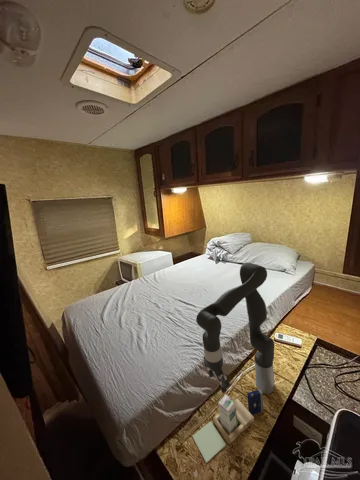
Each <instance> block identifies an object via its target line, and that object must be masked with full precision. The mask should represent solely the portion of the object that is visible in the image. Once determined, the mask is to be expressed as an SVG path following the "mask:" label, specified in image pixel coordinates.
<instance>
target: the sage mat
mask: <svg viewBox="0 0 360 480" xmlns="http://www.w3.org/2000/svg"><path fill="white" fill-rule="evenodd" d="M222 437H223V436H221V433H219V430H217V428H216V427H215V424H213V421H209V422H208V423H207V424H205V425H204V426H203V427H202V428H200V429H199V430H198V431H197V432H195V433H194V434H193V435H192V439H193V441H194V442H195V444H196V446H197V448H198V451H199V452H200V453H201V455H202V458H203V460H204V462H205V463H206V464H207V463H209V462H210V461H211V459H213V458H214V457H215V456H216V455H217V454H218V453H219V452H220V451H221V450H222V449H224V448H225V447H226V446H227V444H226V441H225V439H223V438H222Z"/></svg>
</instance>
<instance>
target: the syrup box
mask: <svg viewBox="0 0 360 480" xmlns="http://www.w3.org/2000/svg"><path fill="white" fill-rule="evenodd" d="M234 400H235V399H233V398H231V397H230V396H229V395H227V394H226V393H225V394H224V395H223V397H222V398H221V399H219V401H218V403H217V404H218V409H219V410H218V411H219V412H218V413H220V424H221V426H222V427H223V429H224V430H225V431H226V432H227V433H229V435H230V434H231V433H232V432H233V431H234V430H235V429H236V428H237V427H238V424H239V423H238V422H237V414H236V405H235V401H234Z"/></svg>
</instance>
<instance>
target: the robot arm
mask: <svg viewBox="0 0 360 480" xmlns="http://www.w3.org/2000/svg"><path fill="white" fill-rule="evenodd" d="M267 277H268V270H267V269H266V268H265V266H262V265H258V264H255V263H251V262H244V263H242V264H241V265H240V269H239V278H240V281H241V284H240V285H238V286H236V287H231V289H228V290H227V291H225V292H223V293H222V294H221V295H220V296H219V298H217V299H216V301H214V302H213V303H210V304H209V305H207V306H205V307H204V308H201V310H200V311H199V312H198V313H197V315H196V319H195V322H196V324H197V325H198V327H200V328H201V329H203V331H204V332H203V333H202V344H203V354H204V356H203V362H204V367H205V368H206V369H207V372H208V377H209V378H212V377H214V376H215V379H216V380H217V382H218V383H219V384H220V390H221V393H223V394H224V393H225V392H227V390H228V388H229V387H230V381H229V376H228V374H227V373H224V370H223V365H224V357H223V349H222V347H221V341H220V340H221V339H220V336H221V331H222V322H221V320H220V318H219V317H218V316H221V317H226V316H228V315H229V314H230V313H231V311H232V310H233V309H234V308H235V307H236V306H237V305H238V304H239V303H240V302H241V301H242V300H244V298H245V306H246V312H247V317H248V324H249V341H250V342H249V343H250V345H251V346H252V348H253V349H254V350H256V352H255V353H254V371H255V372H254V375H255V386H256V388H257V389H256V390H258V389H261V390H262V392H263V394H266V395H267V394H269V395H270V394H272V392H273V391H274V386H275V371H274V358H275V341H274V339H273V338H271V337H270V336H268V335H267V334H265V333H263V332H262V330H261V326H262V325H263V324H264V323H265V321H266V319H267V317H268V314H267V313H268V312H267V305H266V301H265V300H264V298H263V297H262V295H261V294H260V292H259V290H258V288H260V287H261V286H262V285H263V284H264V283H265V281H266V280H267V279H268V278H267Z"/></svg>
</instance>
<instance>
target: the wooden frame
mask: <svg viewBox="0 0 360 480" xmlns="http://www.w3.org/2000/svg"><path fill="white" fill-rule="evenodd" d="M233 400H234V401H235V405H236V414H237V424H239V426H237V427H236V428H235V429H234V431H233V432H232V433H231V434H230V433H229V434H228V432H227V431H226V429H225V428H224V427H223V426H222V425H221V422H220V421H221V419H220V412H218V413H217V414H216V415H214V416H213V417H212V423H214V426H216V427H217V428H216V429H218V432H220V435H222V437H223V438H224V441H225V442H226V443H227V444H228V445H230V444H231V443H232V442H233V441H234V440H235V439H236V438H237V437H239V435H241V434H242V432H244V431H245V430H246V429H247V428H248V427H249V426H250V425H252V423H253V422H255V418H254V415H251V413H250V412H249V411H248V409H247V408H246V406H245V405H243V403H242V402H241V401H240V400H239V398H236V399H233Z"/></svg>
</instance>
